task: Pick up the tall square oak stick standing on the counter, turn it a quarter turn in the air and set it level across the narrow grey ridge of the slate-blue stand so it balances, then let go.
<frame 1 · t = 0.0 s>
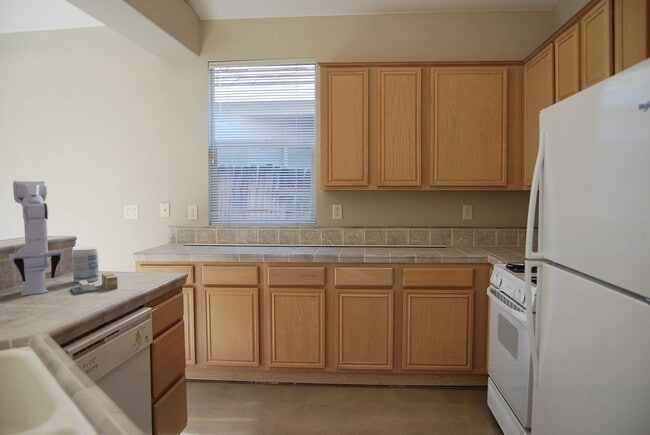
hand: (38, 279, 125), 10 cm above the countertop, tool pointing down, fingers open, 7 cm apart
fulcrum stand: (84, 290, 150), on the countertop
supplement tub: (86, 281, 166), on the countertop
oak stick: (109, 287, 156), on the countertop
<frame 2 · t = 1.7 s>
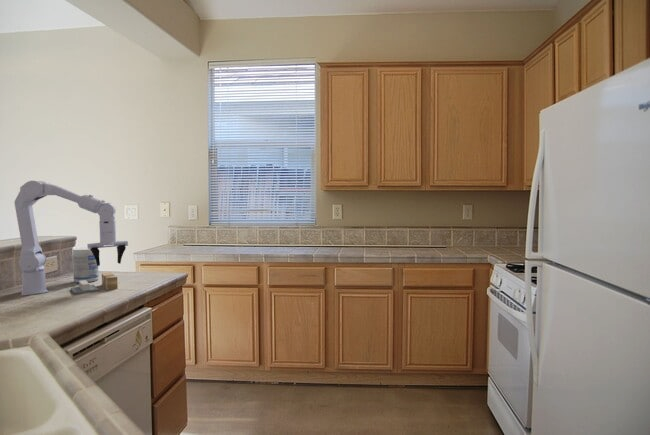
hand: (108, 264, 155), 9 cm above the countertop, tool pointing down, fingers open, 7 cm apart
nothing on the countertop moved.
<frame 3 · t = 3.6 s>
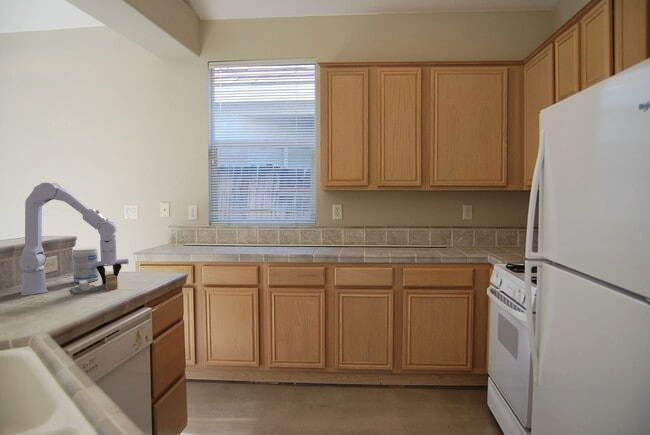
hand: (109, 282, 156), 2 cm above the countertop, tool pointing down, fingers closed on oak stick, 3 cm apart
oak stick: (109, 286, 156), on the countertop, touching gripper
everything else where it was.
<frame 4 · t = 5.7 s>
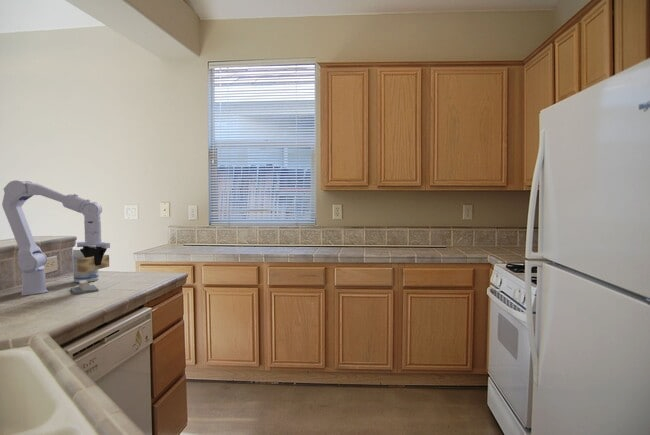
hand: (94, 265, 152), 10 cm above the countertop, tool pointing down, fingers closed on oak stick, 3 cm apart
oak stick: (94, 269, 152), point 8 cm above the countertop, touching gripper
everything else where it was.
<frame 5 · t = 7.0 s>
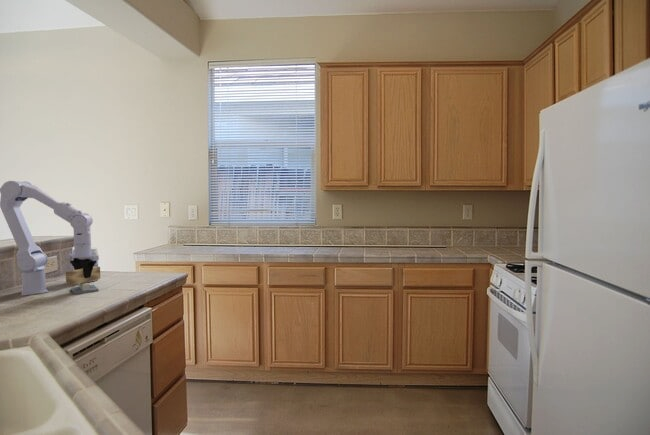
hand: (83, 277, 149), 5 cm above the countertop, tool pointing down, fingers closed on oak stick, 3 cm apart
oak stick: (83, 281, 150), point 4 cm above the countertop, touching gripper
everything else where it was.
when the fingers open (5 cm above the countertop, at t = 7.9 s): oak stick stays where it is, resting on fulcrum stand.
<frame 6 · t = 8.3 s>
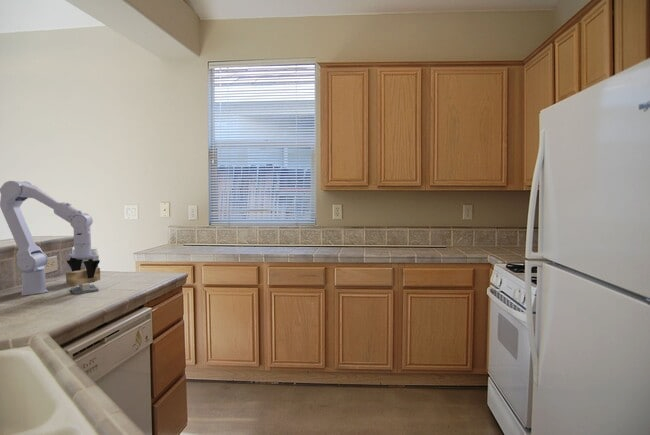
hand: (83, 277, 149), 5 cm above the countertop, tool pointing down, fingers open, 7 cm apart
oak stick: (83, 282, 150), point 3 cm above the countertop, touching fulcrum stand
everything else where it was.
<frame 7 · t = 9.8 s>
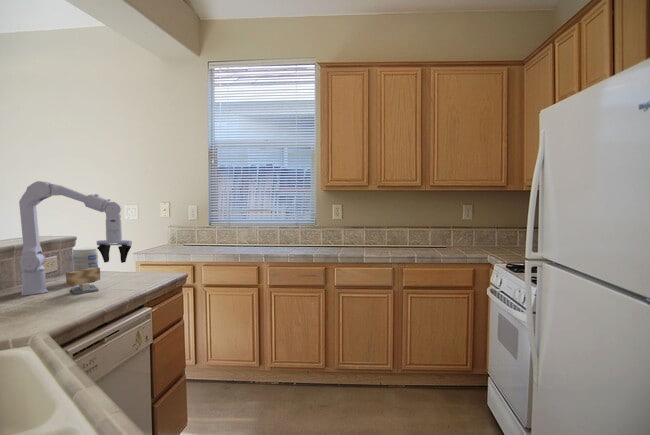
hand: (114, 262, 157), 10 cm above the countertop, tool pointing down, fingers open, 7 cm apart
nothing on the countertop moved.
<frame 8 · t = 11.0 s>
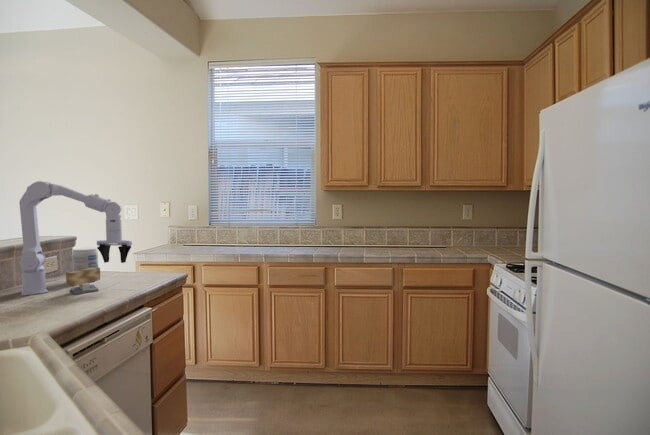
hand: (115, 262, 158), 10 cm above the countertop, tool pointing down, fingers open, 7 cm apart
nothing on the countertop moved.
at the end: oak stick 0.1 cm off-centre on the fulcrum stand, point 3.2 cm above the fulcrum stand's base; oak stick tilted 0°; the gripper is holding nothing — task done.
